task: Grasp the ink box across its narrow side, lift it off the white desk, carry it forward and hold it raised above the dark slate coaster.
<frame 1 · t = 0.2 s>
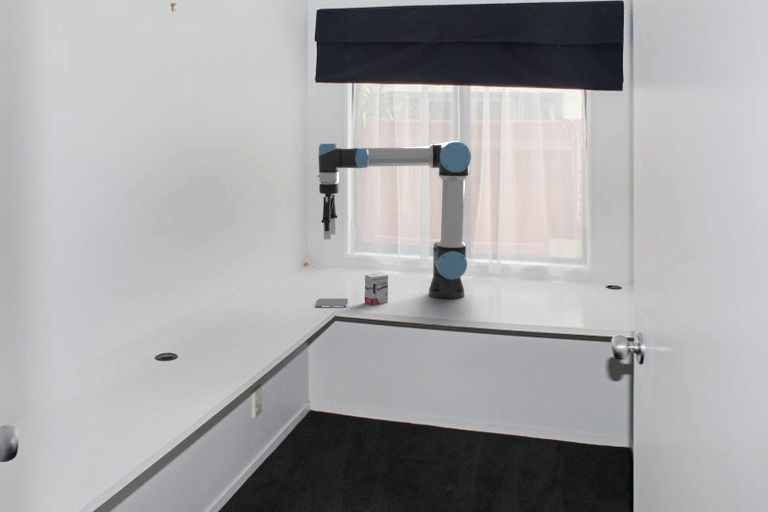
hand: (329, 236, 245), 27 cm above the table, fingers open, 13 cm apart
ink box: (376, 303, 250), on the table
slate coaster: (332, 303, 249), on the table
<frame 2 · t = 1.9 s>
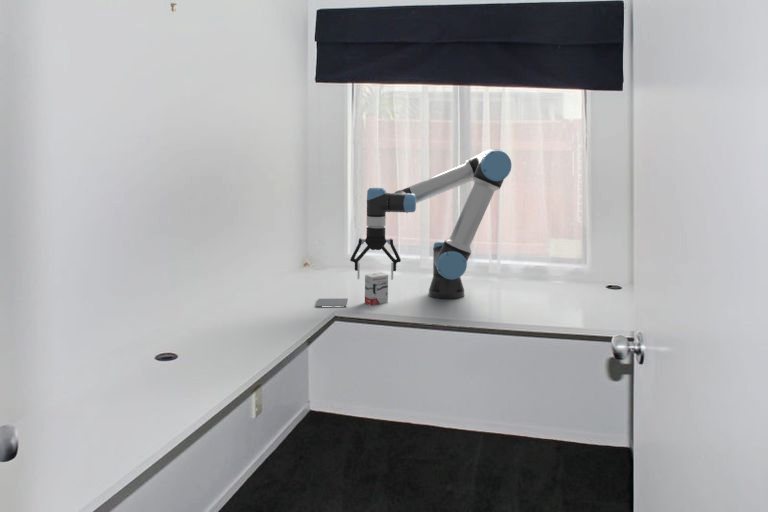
hand: (375, 278, 248), 10 cm above the table, fingers open, 13 cm apart
nothing on the table moved.
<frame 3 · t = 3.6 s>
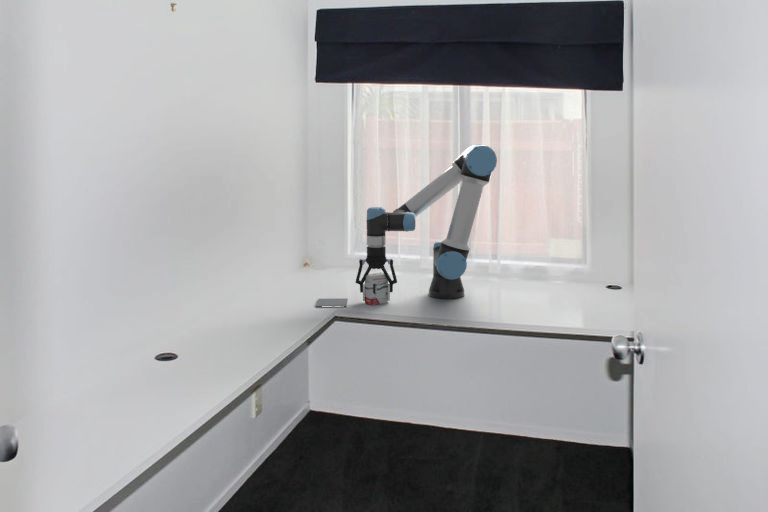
hand: (376, 300, 250), 1 cm above the table, fingers closed on ink box, 9 cm apart
ink box: (376, 303, 250), on the table, touching gripper
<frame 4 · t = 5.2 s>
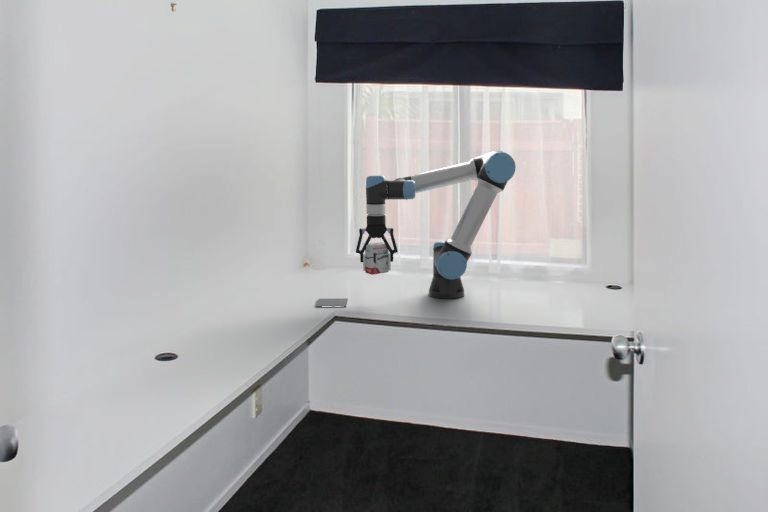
hand: (377, 269, 247), 14 cm above the table, fingers closed on ink box, 9 cm apart
ink box: (377, 273, 248), point 12 cm above the table, touching gripper
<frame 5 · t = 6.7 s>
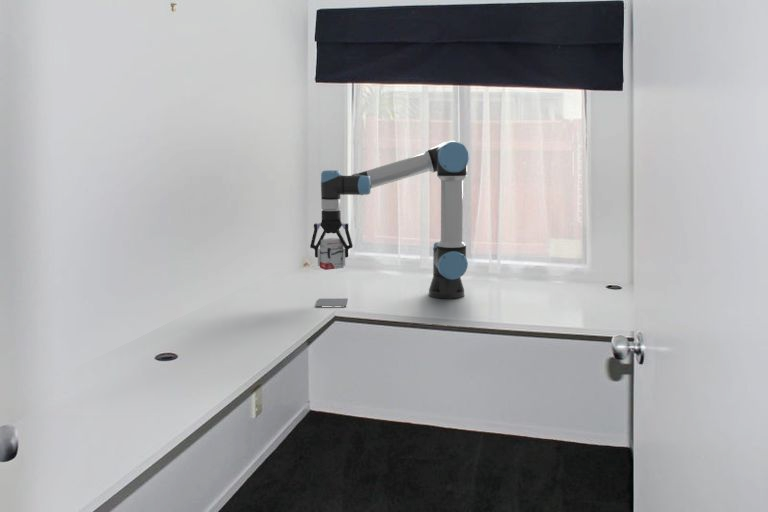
hand: (331, 265, 246), 16 cm above the table, fingers closed on ink box, 9 cm apart
ink box: (331, 268, 246), point 15 cm above the table, touching gripper
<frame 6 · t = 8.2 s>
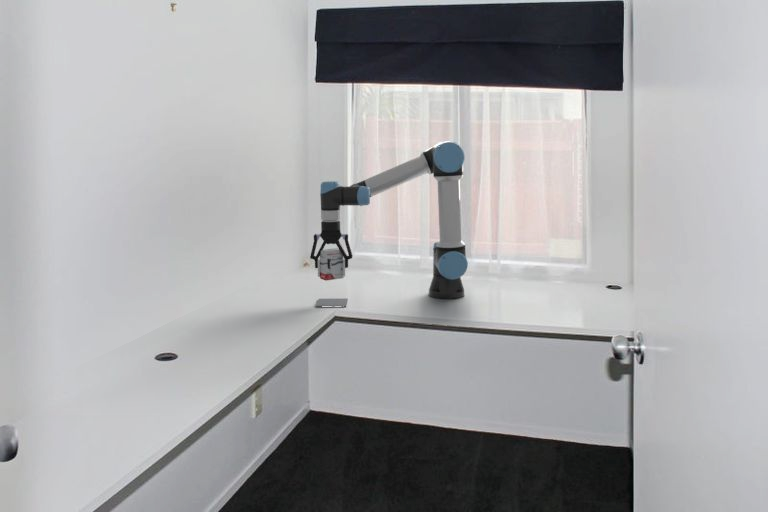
hand: (331, 275, 247), 12 cm above the table, fingers closed on ink box, 9 cm apart
ink box: (331, 279, 247), point 10 cm above the table, touching gripper
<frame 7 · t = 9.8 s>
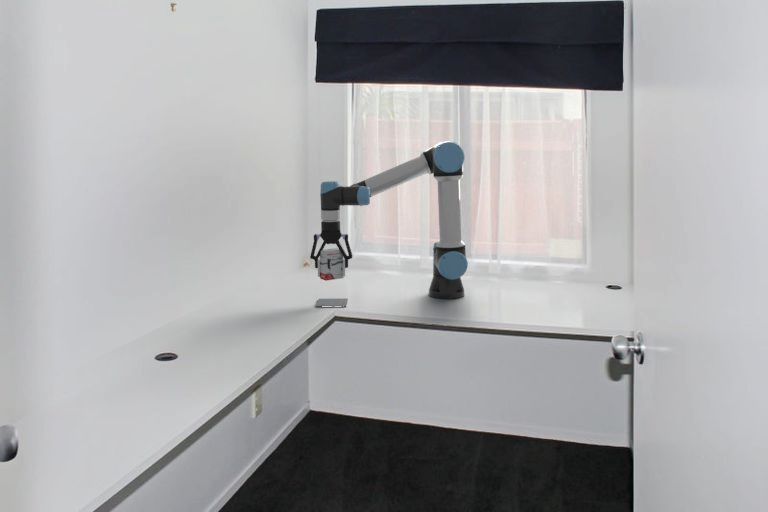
hand: (331, 275, 247), 12 cm above the table, fingers closed on ink box, 9 cm apart
ink box: (331, 279, 247), point 10 cm above the table, touching gripper
at the end: the gripper is holding ink box; ink box point 10.2 cm above the table; ink box 0.1 cm from the slate coaster (horizontally) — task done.
